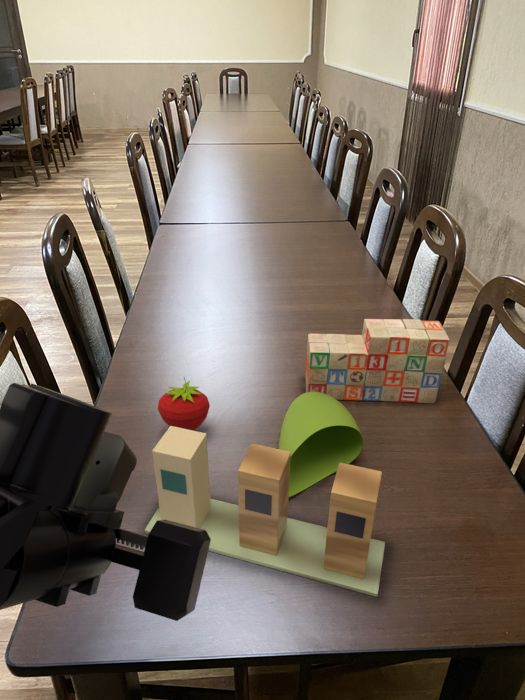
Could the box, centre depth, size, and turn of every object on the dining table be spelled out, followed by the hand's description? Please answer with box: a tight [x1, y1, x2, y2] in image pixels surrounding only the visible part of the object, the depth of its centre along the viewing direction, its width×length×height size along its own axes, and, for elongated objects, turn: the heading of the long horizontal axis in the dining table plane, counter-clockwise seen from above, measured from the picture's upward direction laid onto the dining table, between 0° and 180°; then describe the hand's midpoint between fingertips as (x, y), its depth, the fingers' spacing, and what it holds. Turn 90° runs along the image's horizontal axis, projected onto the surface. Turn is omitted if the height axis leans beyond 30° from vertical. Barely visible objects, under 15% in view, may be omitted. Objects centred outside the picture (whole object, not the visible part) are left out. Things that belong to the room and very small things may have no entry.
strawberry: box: [157, 376, 211, 431], centre depth 78 cm, size 6×8×10 cm
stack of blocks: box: [304, 318, 450, 404], centre depth 88 cm, size 21×6×12 cm, turn 88°
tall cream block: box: [151, 426, 211, 528], centre depth 64 cm, size 5×5×12 cm
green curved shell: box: [278, 392, 364, 498], centre depth 76 cm, size 8×12×20 cm
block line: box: [144, 443, 386, 598], centre depth 61 cm, size 7×28×13 cm, turn 73°
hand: (133, 536), depth 49 cm, fingers open, 9 cm apart
